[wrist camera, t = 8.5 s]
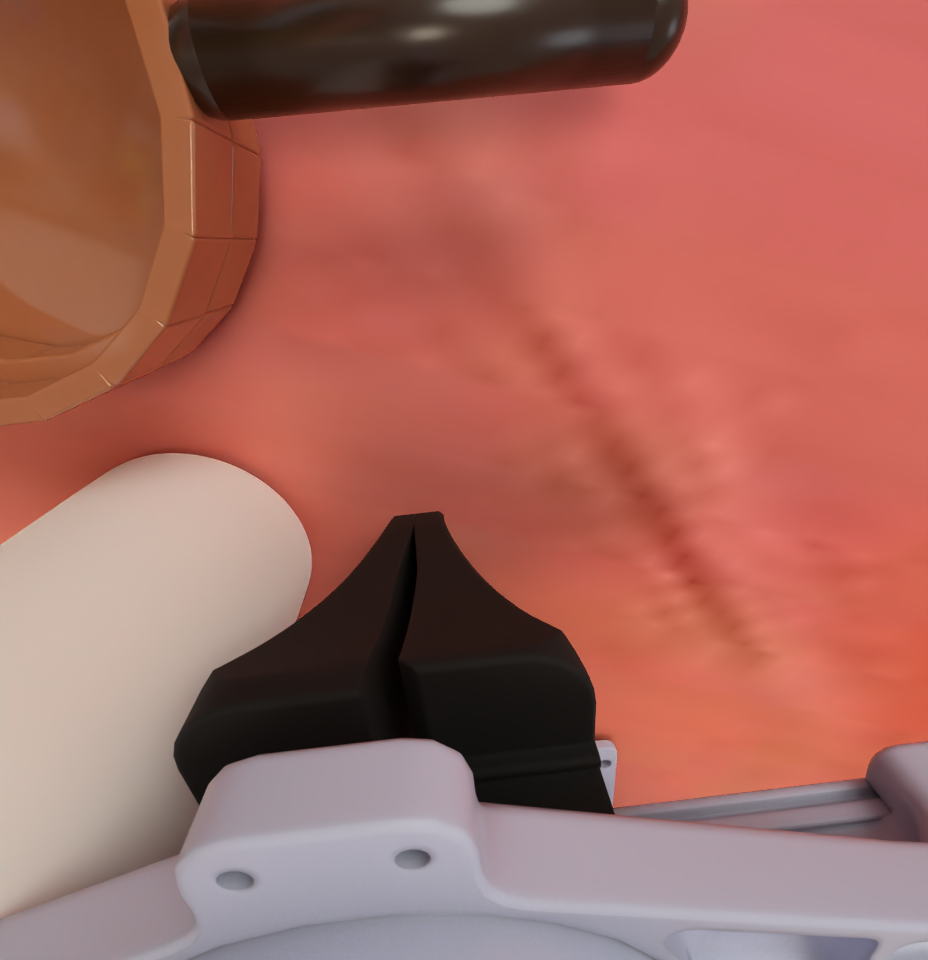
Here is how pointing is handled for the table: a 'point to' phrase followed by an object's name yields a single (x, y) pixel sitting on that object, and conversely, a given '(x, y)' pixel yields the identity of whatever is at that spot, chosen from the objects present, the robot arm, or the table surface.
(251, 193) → the pan
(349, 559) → the table surface
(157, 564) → the can
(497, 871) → the robot arm
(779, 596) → the table surface
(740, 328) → the table surface
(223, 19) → the pan handle
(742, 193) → the table surface
